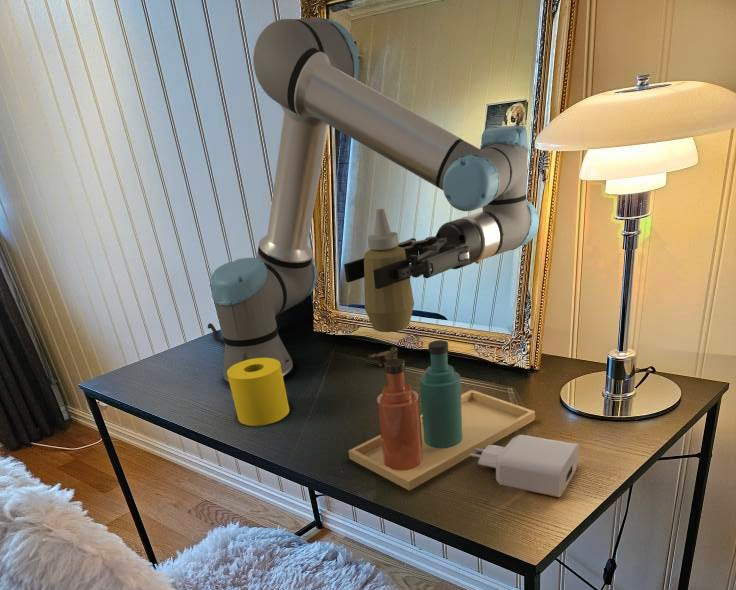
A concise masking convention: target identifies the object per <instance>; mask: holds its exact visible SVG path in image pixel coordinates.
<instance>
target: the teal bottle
mask: <svg viewBox="0 0 736 590" xmlns="http://www.w3.org/2000/svg"><path fill="white" fill-rule="evenodd" d="M448 352H449V341H447V340H442V339H437V340H433V341H430V342H429V343H428V353H429V355H430V366H428V367H426V369H425V373H424V374H422V375H421V376H420V378H419V385H420V386H419V388H420V403H421V414H422V418H423V432H424V442H425V443H426V444H427V445H428V446H431V447H434V448H449V447H453V446H455V445H457V444H459V443H460V442H461V441H462V409H461V395H462V385H461V383H462V382H461V381H462V379H461V374H460V373H458V372H457V371H455V368H454V367H453V366H452V365H451V364H449V362H448V361H449V359H448Z"/></svg>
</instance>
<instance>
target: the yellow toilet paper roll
mask: <svg viewBox="0 0 736 590" xmlns="http://www.w3.org/2000/svg"><path fill="white" fill-rule="evenodd" d="M227 375H228V379H229V383H230V386H229V387H230V391H231V395H232V399H233V403H234V407H235V411H236V416H237V420H238V422H239V423H241V424H243V425H245V426H252V427H260V426H265V425H266V426H267V425H270V424H273V423H277V422H279V421H281V420H283V419H284V418H285V417H287V416H288V414H289V413H290V405H289V401H288V396H287V390H286V385H285V381H284V380H285V379H284V380H283V374H282V369H281V364H280V362H279V361H278V360H276V359H273V358H254V359H249V360H245V361H242V362H239V363H237V364H235V365H233V366H231V367H230V368H229V369H228V371H227Z"/></svg>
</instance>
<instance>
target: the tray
mask: <svg viewBox="0 0 736 590" xmlns="http://www.w3.org/2000/svg"><path fill="white" fill-rule="evenodd" d="M461 409H462V441H461V442H460V443H459V444H457V445H455V446H453V447H449V448H434V447H431V446H428V445H427V444H426V443H425V442H424V432H423V418H422V413H420V420H421V434H422V448H423V461H422V463H421V464H420V465H418V466H417V467H415V468H412V469H408V470H394V469H391V468H389V467H387V466H385V464H384V461H383V452H382V443H381V434H379V435H376V436H375V437H373V438H371V439H368V440H366V441H365V442H363V443H361V444H359V445H357V446H355V447H353V448H351V449H349V450H348V457H349V460H351V461H353V462H355V463H357V464H358V465H360V466H362V467H364V468H366V469H368V470H370V471H371V472H374V473H376V474H377V475H379V476H381V477H382V478H384V479H387V480H389V481H391V482H392V483H394V484H396V485H398V486H400V487H402V488H404V489H406V490H407V491H411V490H413V489H415V488H417V487H419V486H420V485H422V484H423V483H425V482H427V481H429V480H430V479H433V478H434V477H436V476H438V475H441V473H443V472H445V471H447V470H448V469H450V468H452V467H454V466H455V465H457V464H459V463H461V462H462V461H464V460H466V459H468V458H470V457H471V456H470V453H473V454H477V453H479V451H475V450H474V449H475V448H478V449H484V450H485V448H486V447H487V446H488V445H494V444H495V443H497V442H498V441H500V440H501V439H503V438H506V437H507V436H509V435H511V434H512V433H514V432H516V431H518V430H519V429H521V428H523V427H525V426H526V425H528V424H530V423H531V422H533V421H535V420H536V411H535V410H533V409H529V408H527V407H524V406H520V405H517V404H515V403H512V402H509V401H506V400H503V399H500V398H497V397H495V396H491V395H488V394H485V393H483V392H480V391H476V390H473V389H470V390H467V391H465V392H464V393H461Z"/></svg>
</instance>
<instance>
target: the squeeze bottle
mask: <svg viewBox="0 0 736 590" xmlns="http://www.w3.org/2000/svg"><path fill="white" fill-rule="evenodd" d="M367 242H368V243H367V244H368V250H367V251H366V252H365V253H364V254H363V258H364V278H363V279H364V280H363V281H364V282H363V285H364V311H365V313H366V315H367V317H368V319H369V322H370V324H371V326H372V328H373V330H374V331H376V332H379V333H393V332H394V333H395V332H399V331H402V330H405V329H407V328H408V327H409V326H410V324H411V318H412V316H413V315H412V314H413V311H414V306H415V300H414V296H413V288H412V284H411V277H410V278H409V279H406V280H403V281H400V282H397V283H394V284H391V285H389V286H386V287H383V288H380V289H376V288H375V282H374V272H373V270H375V269H378V268H381V267H384V266H387V265H390V264H393V263H396V262H399V261H402V260H405V259H406V254H405V250H404V249H403V248H402V247H399V246H398V245H399V243H400V242H399V234H398V232H395V231H391V228H390V224H389V221H388V217H387V214H386V210H385V209H384V208H378V209H376V211H375V221H374V230H373V234H370V235H368V236H367Z"/></svg>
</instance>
